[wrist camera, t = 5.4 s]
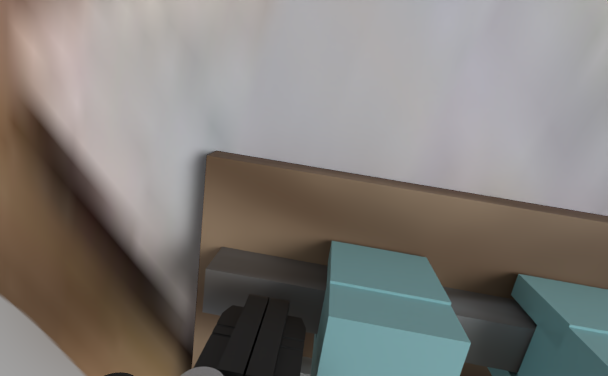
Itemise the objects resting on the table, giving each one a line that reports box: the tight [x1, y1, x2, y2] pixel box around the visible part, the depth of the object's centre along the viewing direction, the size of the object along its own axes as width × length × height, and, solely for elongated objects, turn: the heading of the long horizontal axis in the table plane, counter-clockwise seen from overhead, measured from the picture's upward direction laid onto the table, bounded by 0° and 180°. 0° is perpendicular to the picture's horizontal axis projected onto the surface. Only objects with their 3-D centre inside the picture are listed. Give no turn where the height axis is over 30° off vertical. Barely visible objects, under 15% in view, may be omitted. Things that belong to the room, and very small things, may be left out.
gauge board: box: [192, 151, 608, 376], centre depth 15 cm, size 16×18×3 cm
